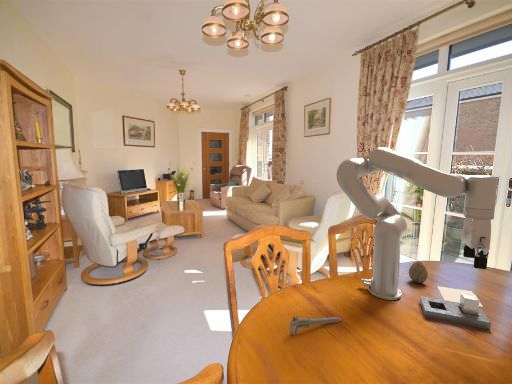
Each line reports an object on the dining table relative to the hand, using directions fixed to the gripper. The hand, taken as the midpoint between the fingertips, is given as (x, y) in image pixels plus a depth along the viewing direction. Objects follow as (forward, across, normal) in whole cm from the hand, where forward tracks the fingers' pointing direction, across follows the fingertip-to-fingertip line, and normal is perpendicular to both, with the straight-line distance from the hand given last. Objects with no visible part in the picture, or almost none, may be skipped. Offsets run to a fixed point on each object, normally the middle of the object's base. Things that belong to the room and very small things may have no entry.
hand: (474, 262), depth 88 cm
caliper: (+21, +24, -48) cm, 57 cm away
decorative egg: (+21, -24, -12) cm, 34 cm away
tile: (+21, -16, +1) cm, 26 cm away
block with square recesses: (+21, 0, -5) cm, 21 cm away
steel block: (+20, 0, 0) cm, 20 cm away
